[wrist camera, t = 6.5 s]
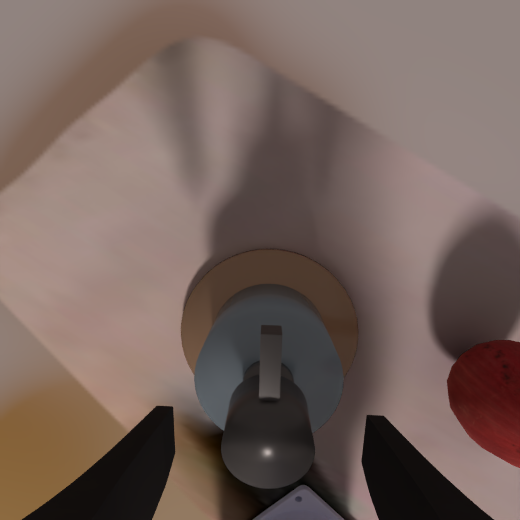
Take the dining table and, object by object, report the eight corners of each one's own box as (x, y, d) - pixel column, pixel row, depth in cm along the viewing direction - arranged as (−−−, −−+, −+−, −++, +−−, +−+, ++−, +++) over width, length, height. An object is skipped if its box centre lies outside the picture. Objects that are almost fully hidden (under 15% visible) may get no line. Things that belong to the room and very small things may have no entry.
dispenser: (265, 435, 20) (264, 523, 14) (148, 328, 18) (99, 382, 13) (391, 337, 18) (443, 396, 13) (272, 210, 17) (273, 215, 11)
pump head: (266, 435, 13) (265, 503, 10) (191, 366, 12) (167, 417, 10) (347, 372, 12) (371, 426, 9) (271, 295, 12) (271, 328, 9)
